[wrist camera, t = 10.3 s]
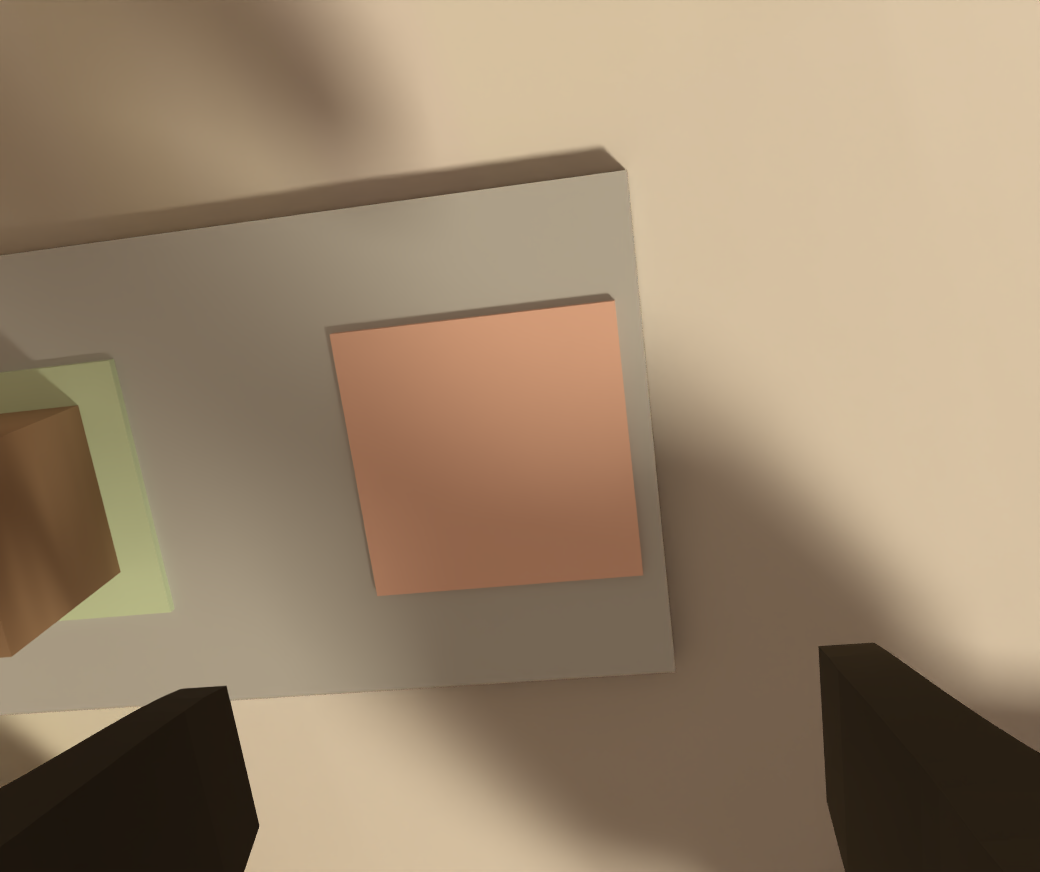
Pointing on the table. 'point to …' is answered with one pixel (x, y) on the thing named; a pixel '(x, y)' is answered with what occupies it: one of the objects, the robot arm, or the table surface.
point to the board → (352, 449)
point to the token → (48, 523)
